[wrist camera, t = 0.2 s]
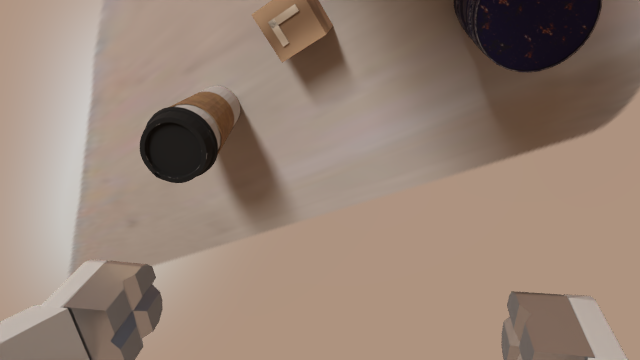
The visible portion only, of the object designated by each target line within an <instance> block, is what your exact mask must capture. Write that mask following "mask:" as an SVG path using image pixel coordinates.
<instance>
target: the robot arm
mask: <svg viewBox="0 0 640 360" xmlns="http://www.w3.org/2000/svg"><path fill="white" fill-rule="evenodd" d="M155 278H156V276H155V274H154V271H153V268H152V266H149V265H147V264H139V263H129V262H119V261H105V260H95V259H91V260H88V261H85V262H84V263H83V264H82V265H81V266H80V267H79V268H78V269H77V270H76V271H75V272H74V273H73V274H72V275H71V276H70V277H69V278H68V279H67V280H66V281H65V282H64V283H63V284H62V285H61V286H60V287H59V288H58V289H57V290H56V291H55V292H54V293H53V294H52V295H51V296H50V297H49V298H48V299H47V300H46V301H45V302H44V303H43V304H42V305H41V306H40V305H34V306H32V307H30V308H28V309H26V310H24V311H22V312H20V313H17V314H15V315H13V316H11V317H9V318H7V319H5V320H3V321H1V322H0V360H135V359H136V357H137V356H138V354H139V352H140V351H141V349H142V348H143V341H142V338H143V337H145V336H147V335H148V334H150V333H151V332H153V331H154V329H155V327H156V326H157V324H158V322H159V320H160V316H161V312H162V298H161V294H160V292H159V291H158V290H157V289H156V288H155V287H154V286H153V285H152V284H153V282H154V280H155ZM507 307H508V311H509V314H510V317H509V318H508V319H506V320H505V321H504V323H503V330H502V353H503V359H504V360H628V359H627V357H626V355H625V353H624V351H623V349H622V348H621V346H620V344H619V342H618V340H617V338H616V337H615V335H614V333H613V331H612V329H611V328H610V326H609V324H608V322H607V320H606V318H605V317H604V315H603V313H602V311H601V310H600V308H599V306H598V304H597V302H596V300H595V299H594V298H592V297H591V296H582V295H565V294H564V295H557V294H543V293H528V292H511V294H510V296H509V300H508V304H507Z"/></svg>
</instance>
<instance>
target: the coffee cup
mask: <svg viewBox="0 0 640 360" xmlns="http://www.w3.org/2000/svg"><path fill="white" fill-rule="evenodd" d="M239 115H240V104H239V101H238V99H237V97H236V96H235V95H234V94H233V93H232V92H231V91H230V90H228V89H227V88H224V87H221V86H211V87H209V88H206V89H205V90H203V91H201V92H199V93H197V94H195V95H193V96H191V97H189V98H187V99H185V100H183V101H181V102H179V103H177V104H175V105H173V106H171V107H168V108H164V109H162V110H160V111H158V112H157V113H155V114H154V115H153V116H152V118H151V119H150V120H149V122H148V123H147V126H146V128H145V130H144V132H143V134H142V136H141V141H140V153H141V157H142V159H143V161H144V163H145V165H146V166H147V167H148V169H149V170H150V171H151V172H152V173H153V174H154V175H155V176H156V177H158V178H160V179H162V180H165V181H169V182H173V183H183V182H187V181H189V180H192V179H193V178H195V177H196V176H199V175H201V174H203V173H204V172H206V171H207V170H209V169H210V168H211V167H212V165H213V164H214V162H215V161H216V158H217V155H218V153H219V151H220V149H221V148H222V146H223V144H224V142H225V141H226V139H227V137H228V135H229V134H230V132H231V130H232V128H233V126H234V125H235V123H236V122H237V120H238V118H239Z"/></svg>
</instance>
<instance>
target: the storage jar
mask: <svg viewBox="0 0 640 360" xmlns="http://www.w3.org/2000/svg"><path fill="white" fill-rule="evenodd" d="M601 6H602V0H454V8H455V13H456V15H457V18H458V20H459V22H460V24H461V26H462V27H463V29H464V30H465V32H466V33H467V34H468V36H469V37H470V38H471V39H472V40H473V41H474V43H475V44H476V45H477V46H478V48H479V49H480V50H481V51H482V52H483V53H484V54H485V55H486V56H488V57H489V58H490V59H491V60H492V61H493V62H495V63H496V64H497V65H499V66H501V67H503V68H505V69H508V70H511V71H517V72H536V71H541V70H545V69H548V68H551V67H553V66H555V65H558V64H560V63H561V62H563V61H565V60H566V59H568V58H569V57H570V56H572V55H573V54H574V53H576V52H577V51H578V50H579V49H580V48H581V47H582V46H583V44H584V43H585V42H586V41H587V39H588V38H589V37H590V35H591V33H592V32H593V30H594V28H595V26H596V23H597V21H598V19H599V15H600V11H601Z"/></svg>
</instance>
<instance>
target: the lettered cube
mask: <svg viewBox="0 0 640 360" xmlns="http://www.w3.org/2000/svg"><path fill="white" fill-rule="evenodd" d="M252 16H253V18H254V20H255V21H256V23H257V24H258V26H259V27H260V29H261V30H262V32H263V34H264V35H265V37H266V38H267V40H268V41H269V43H270V44H271V46H272V47H273V49H274V51H275V52H276V54H277V55H278V57H279V58H280V60H281V61H282V62H284V61H285V60H287V59H289V58H290V57H292V56H293V55H295V54H296V53H298V52H300V51H301V50H303V49H304V48H306V47H307V46H309V45H311V44H312V43H314V42H315V41H317V40H318V39H320V38H322V37H323V36H325V35H326V34H327V33H328V32H329V30H330V29H331V27H332V26H333V25H332V23H331V21H330V19H329V18H328V16H327V14H326V13H325V11H324V9H323V7H322V6H321V4H320V2H319V1H318V0H272V1H270V2H269V3H268V4H266V5H265V6H263V7H262V8H261V9H259V10H258V11H256V12H255V13H253V14H252Z"/></svg>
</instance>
